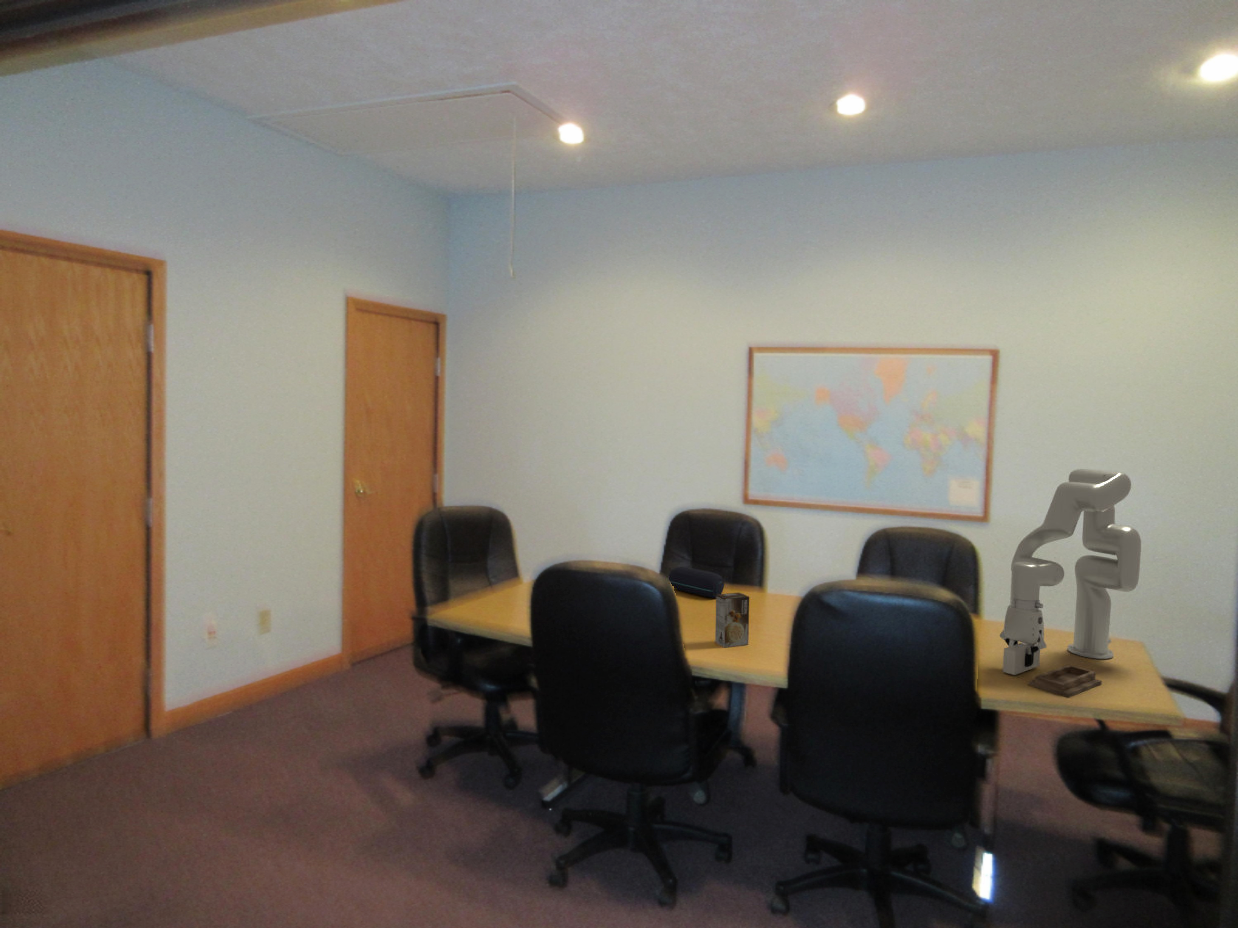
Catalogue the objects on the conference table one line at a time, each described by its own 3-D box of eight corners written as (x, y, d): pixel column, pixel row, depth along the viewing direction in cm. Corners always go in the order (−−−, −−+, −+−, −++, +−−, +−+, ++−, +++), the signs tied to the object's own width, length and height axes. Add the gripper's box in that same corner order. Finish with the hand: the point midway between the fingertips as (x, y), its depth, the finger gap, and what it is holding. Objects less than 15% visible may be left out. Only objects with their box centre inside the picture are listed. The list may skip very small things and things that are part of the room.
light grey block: (1027, 662, 238) (1028, 639, 238) (1039, 665, 235) (1040, 642, 235) (1002, 671, 230) (1003, 648, 230) (1014, 675, 227) (1015, 651, 227)
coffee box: (738, 639, 259) (740, 591, 257) (748, 645, 253) (750, 596, 252) (714, 642, 255) (715, 593, 254) (724, 647, 249) (725, 598, 248)
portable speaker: (728, 597, 314) (729, 573, 314) (712, 601, 307) (713, 576, 307) (681, 586, 332) (682, 563, 331) (665, 590, 325) (666, 566, 325)
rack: (1061, 672, 232) (1062, 662, 232) (1101, 684, 223) (1102, 673, 223) (1028, 684, 221) (1028, 674, 221) (1068, 697, 212) (1069, 686, 212)
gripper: (1059, 608, 226) (1056, 669, 228) (1004, 595, 240) (1001, 653, 242) (1046, 612, 222) (1043, 674, 224) (990, 599, 236) (987, 658, 237)
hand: (1021, 663), depth 233 cm, fingers closed on light grey block, 3 cm apart
